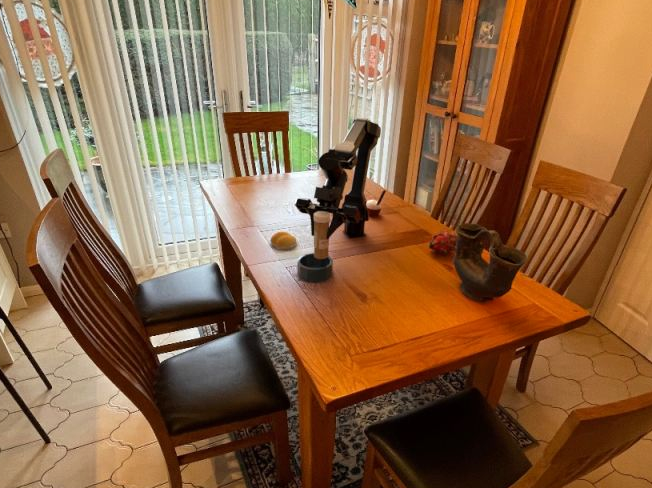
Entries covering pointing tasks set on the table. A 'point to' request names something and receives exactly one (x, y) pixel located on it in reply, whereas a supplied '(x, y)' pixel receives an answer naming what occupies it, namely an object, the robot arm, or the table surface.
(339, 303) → the table surface
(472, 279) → the pottery vessel
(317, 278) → the bowl
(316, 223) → the spice jar
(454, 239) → the dragon fruit
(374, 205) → the cocoa
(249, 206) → the table surface
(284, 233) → the bread roll
